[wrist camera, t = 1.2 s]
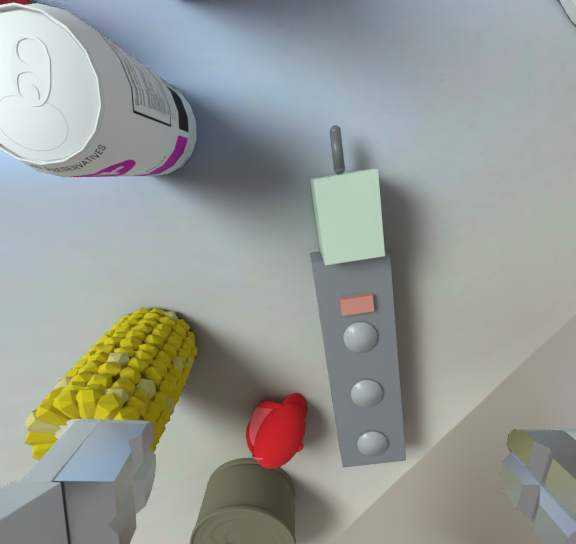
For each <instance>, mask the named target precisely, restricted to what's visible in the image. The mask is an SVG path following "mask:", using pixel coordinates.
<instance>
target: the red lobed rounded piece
mask: <svg viewBox="0 0 576 544" xmlns="http://www.w3.org/2000/svg"><path fill="white" fill-rule="evenodd" d="M306 413H307V405H306V401H305V399H304V397H303V396H302V395H300V394H298V393H294V394H291V395H289V396H288V397H286V398H285V399H284V400H283V402H282V403H277V402H272V401H264V402H262V403H260V404H258V405H257V407H256V409H255V411H254V413H253V415H252V418H251V420H250V422H249V424H248V426H247V430H246V439H247V444H248V447H249V450H250V451H251V453H252V454H253V455H252V457H253V458H254V459H256V460H257V462H258V463H259V464H260V465H261V466H262V467H264V468H268V469H274V468H278V467H280V466H282V465H284V464H286V463H287V462H288V461H289V460H290V459H291V458H292V457H293V456H294V455H295V453H296V452H299V451H301V450H302V449H303V443H302V440H303V437H304V433H305V418H306Z"/></svg>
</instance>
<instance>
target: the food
mask: <svg viewBox="0 0 576 544" xmlns="http://www.w3.org/2000/svg"><path fill="white" fill-rule="evenodd" d="M189 329H190V326H189V325H188V324H187V323H186V322H185V321H184V320H183V319H181V320H179V319H178V317H177V316H176V314H175V312H174V311H170V312H165V311H163V310H159V309H156V308H154V309H153V310H151V311H150V310H149V309H147V308H141V309H139V310H138V311H136V312H134V313H133V314H132V313H131V314H128V315H126V316H123V317H121V318H119V322H117V323H115V325H114V326H113V327H112V328H111V330H110V331H109V332H107V333H105V334H104V335H103V336H102V337H101V338H100V339H99V340H98V341H97V344H95V345H94V346H92V347H90V348H89V350H90V352H88V353H87V354H85V355H84V356H83V358H82V360H81V361H80V362H78V363H76V364H75V365H74V368H71V370H70V371H68V372H67V374H66V376H65V378H63V379H61V380H59V383H58V384H57V385H56V386H55V387H54V391H52V392H51V393H50V394H49V395H48V396H46V398H45V399H44V400H43V401H42V403H41V404H40V405H39V406H38V407H37V409H36V410H34V411H32V413H31V414H30V416H29V417H28V419H27V420H26V422H25V425H26V427H27V429H28V430H29V433H28V435H27V438H26V441H25V443H26V444H29V445H32V446H33V454H32V457H33V458H35V459H37V460H39V461H40V460H41V458H42V457H43V456H44V455H45V454H46V453H47V452H48V451H49V450H50V448H51V447H52V446H53V445H54V444H55V443H56V442H57V441H58V440H59V438H60V437H61V436H62V435H63V434H64V433H65V432H66V431H67V430H68V428H69V427H70V426H71V425H72V424H73V423H74V422H75V421H77V420H80V419H102V420H105V419H111V420H133V421H151V422H152V423H153V424H154V433H155V438H154V440H153V442H152V445H151V447H150V449H151V450H152V452H153V453H154V451H155V449H156V444H158V443H159V439H160V437H161V436H162V434H163V432H164V430H165V428H166V427H165V424H167V422H169V421H170V416H171V415H172V414H173V412H174V407H175V405H176V403H177V402H178V400H179V396H180V395H181V393H182V389H183V388H184V386H185V385H186V383H187V381H186V379H187V378H188V377H189V375H190V370H192V365H193V363H194V362H195V360H194V357H195V356H196V355H197V351H198V348H197V347H196V346H195V345H196V343H195V336H194V333H193V332H190V331H189Z"/></svg>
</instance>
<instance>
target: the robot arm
mask: <svg viewBox="0 0 576 544" xmlns="http://www.w3.org/2000/svg"><path fill="white" fill-rule="evenodd" d="M560 2H561V4H562V6H563V8H564V10H565V11H566V13H567V15H568V16H569V18H570V19H571V21H572V22H573V23H574V24H575V25H576V0H560ZM154 438H155V433H154V424H153V423H152V422H151V421H133V420H111V419H105V420H102V419H80V420H77V421H75V422H74V423H73V424H72V425H71V426H70V427H69V428H68V430H67V431H66V432H65V433H64V434H63V435H62V436H61V437H60V438H59V440H58V441H57V442H56V443H55V444H54V445H53V446H52V447H51V448H50V450H49V451H48V452H47V453H46V454H45V455H44V456H43V457H42V458H41V460H40V461H39V462H38V463H37V464H36V465H35V466H34V467H33V468H32V470H31V471H30V472H29V473H28V474H27V475H26V476H25V477H24V478H23V480H22V481H21V482H11V483H9V484H7V485H5V486H3V487H1V488H0V544H130V542H131V539H132V537H133V534H134V532H135V530H136V514H137V513H138V512H139V511H140V510H141V509H142V508H144V507H145V506H146V503H147V501H148V498H149V496H150V493H151V490H152V486H153V482H154V478H155V469H156V455H155V454H154V453H153V452H152V450H151V449H150V447H151V445H152V442H153V440H154ZM506 445H507V447H508V449H509V450H510V452H511V453H510V454H509V455H508V456H507V457H506V458H504V459H503V460H502V465H501V470H500V477H501V481H502V486H503V489H504V491H505V493H506V495H507V497H508V498H509V500H510V501H511V503H512V504H513V505H514V507H515V508H516V509H517V510H519V511H520V512H521V513H523V514H524V515H526V516H527V517H529V518H530V519H531V522H532V530H533V531H534V532H535V533H536V535H537V536H538V538H539V539H540V540H541V541H542V543H543V544H576V429H556V430H525V429H524V430H523V429H521V430H520V429H514V430H513V431H512V432H511V433H510V434H509V435H508V439H507V443H506Z"/></svg>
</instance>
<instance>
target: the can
mask: <svg viewBox="0 0 576 544" xmlns="http://www.w3.org/2000/svg"><path fill="white" fill-rule="evenodd" d="M190 544H296V540H295V528H294V487H293V484H292V481H291V480H290V478H289V476H288V475H287V474H286V473H285V472H284V471H283V470H282V469H281V468H279V467H278V468H274V469H268V468H264V467H262V466H261V465H260V464H259V463H258V462H257V460H256V459H254V458H241V459H236V460H232V461H229V462H227V463H225V464H223V465H221V466H220V467H219V468H217V469H216V470H215V471H214V472H213V474H212V475H211V477H210V479H209V481H208V484H207V489H206V492H205V495H204V499H203V503H202V506H201V509H200V513H199V516H198V520H197V523H196V526H195V528H194V530H193V532H192V535H191V539H190Z"/></svg>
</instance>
